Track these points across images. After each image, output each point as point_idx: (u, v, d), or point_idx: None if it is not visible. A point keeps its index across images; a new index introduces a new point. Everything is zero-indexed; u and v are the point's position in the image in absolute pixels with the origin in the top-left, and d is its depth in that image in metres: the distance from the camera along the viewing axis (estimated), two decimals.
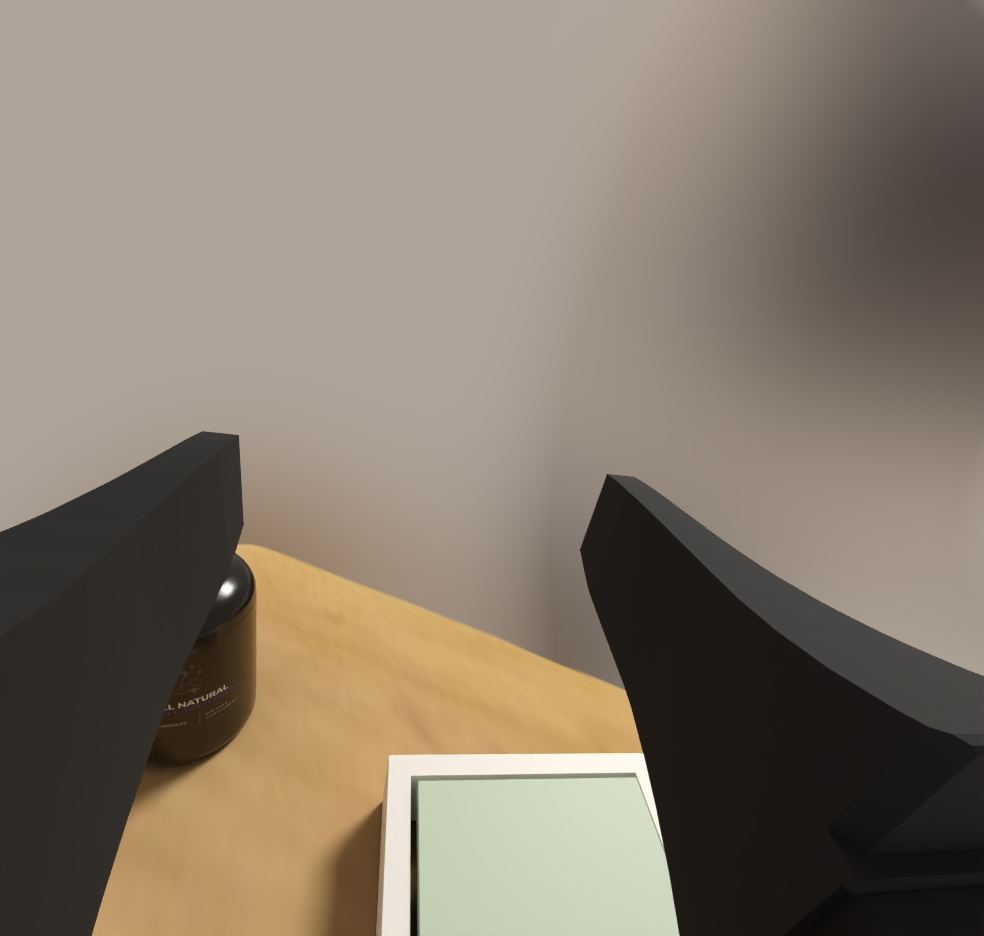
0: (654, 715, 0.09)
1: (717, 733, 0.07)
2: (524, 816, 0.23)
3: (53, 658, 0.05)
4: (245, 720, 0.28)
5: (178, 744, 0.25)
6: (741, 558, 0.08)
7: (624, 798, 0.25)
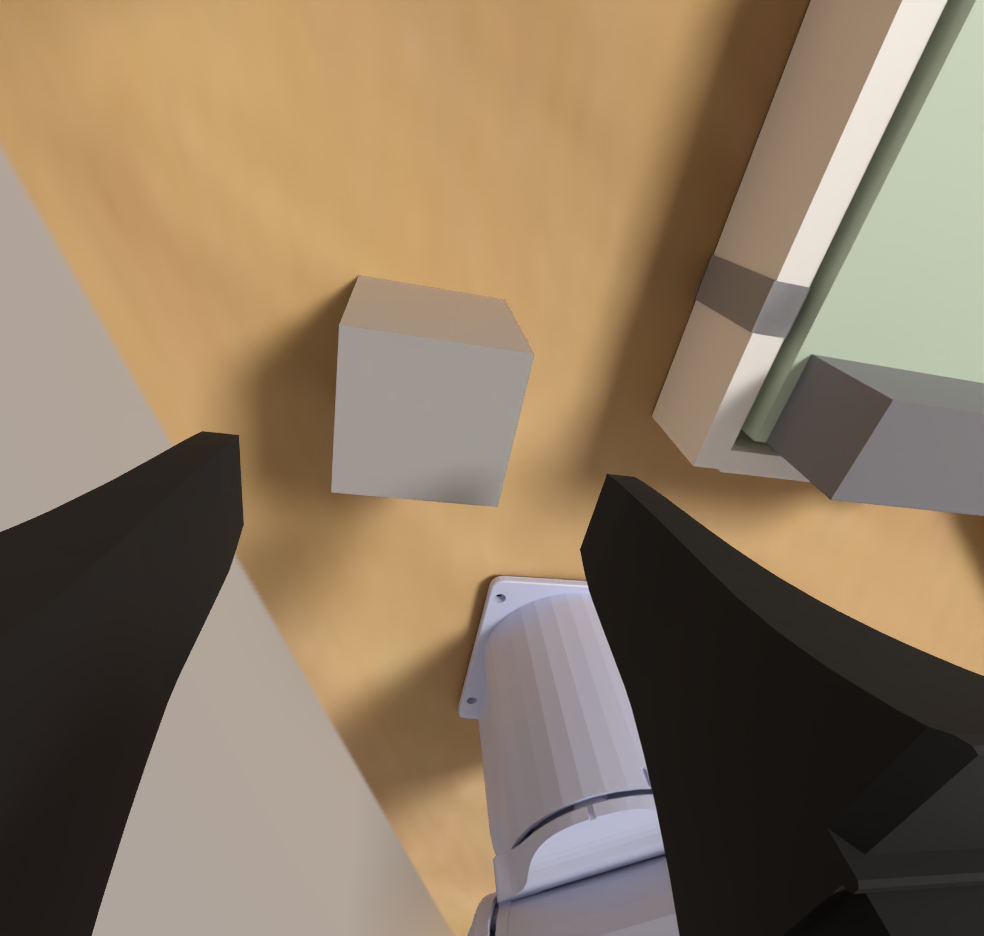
0: (654, 715, 0.09)
1: (717, 733, 0.07)
2: None
3: (53, 658, 0.05)
4: None
5: None
6: (741, 558, 0.08)
7: None
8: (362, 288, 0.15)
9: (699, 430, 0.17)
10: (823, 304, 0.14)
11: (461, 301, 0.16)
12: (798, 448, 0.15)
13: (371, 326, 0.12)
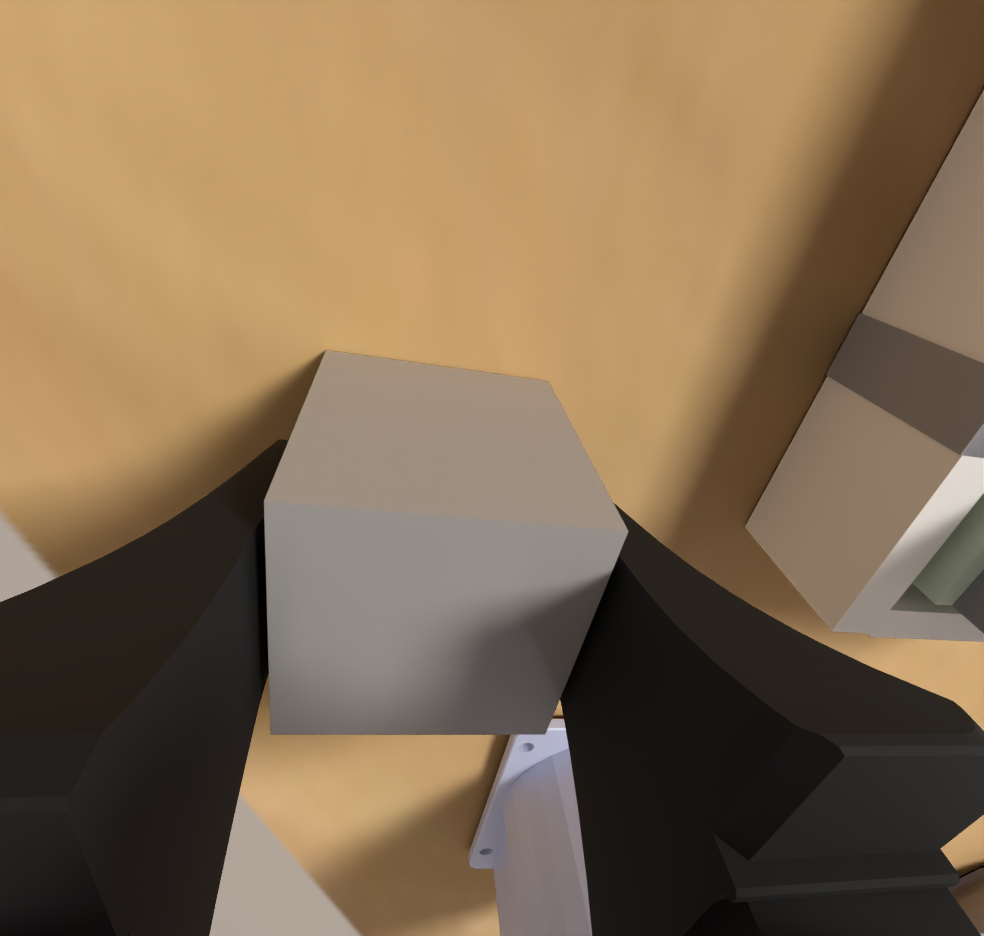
0: (579, 714, 0.08)
1: (627, 733, 0.07)
2: None
3: (205, 662, 0.05)
4: None
5: None
6: (664, 552, 0.08)
7: None
8: (326, 383, 0.09)
9: (843, 580, 0.11)
10: None
11: (486, 395, 0.10)
12: None
13: (330, 494, 0.06)
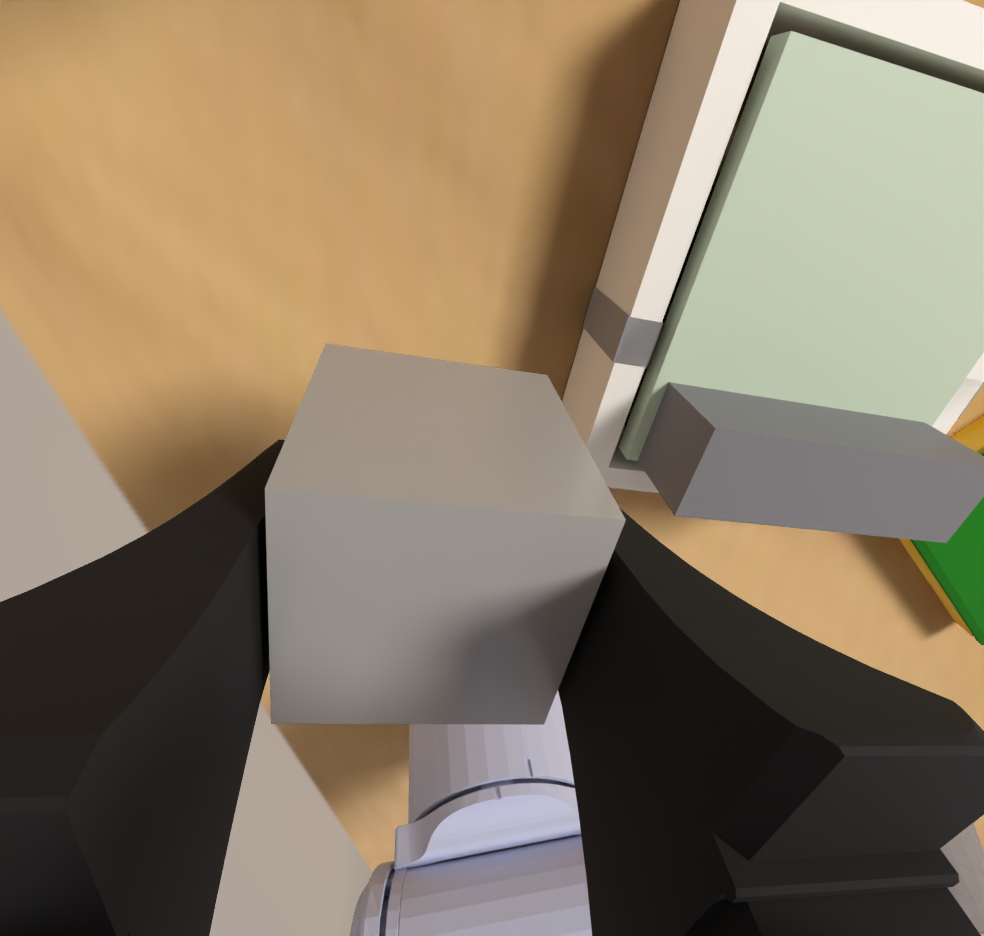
0: (579, 714, 0.08)
1: (627, 733, 0.07)
2: (912, 161, 0.14)
3: (205, 662, 0.05)
4: None
5: None
6: (664, 552, 0.08)
7: None
8: (326, 375, 0.09)
9: None
10: (672, 338, 0.15)
11: (484, 388, 0.10)
12: (657, 467, 0.16)
13: (329, 483, 0.06)
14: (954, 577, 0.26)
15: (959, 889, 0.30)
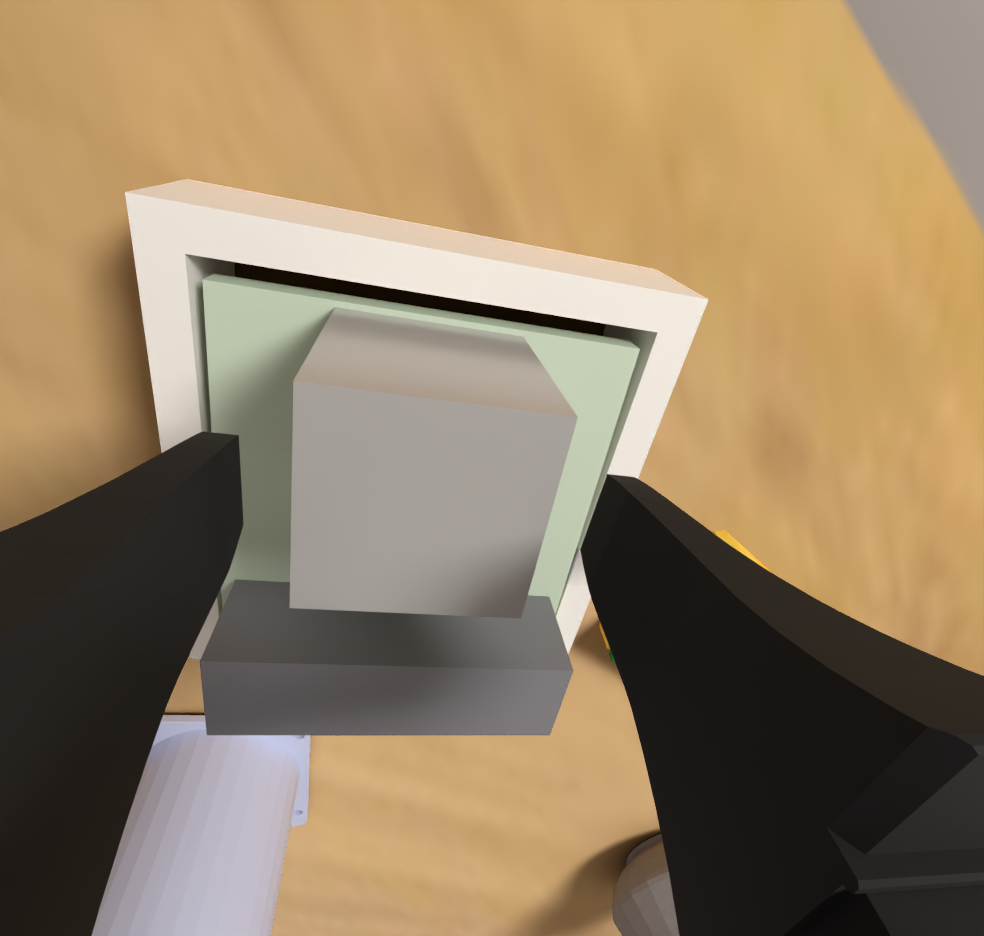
0: (654, 715, 0.09)
1: (717, 733, 0.07)
2: None
3: (53, 658, 0.05)
4: None
5: None
6: (741, 558, 0.08)
7: (594, 379, 0.14)
8: (337, 325, 0.11)
9: None
10: None
11: (469, 340, 0.12)
12: None
13: (343, 381, 0.08)
14: None
15: None
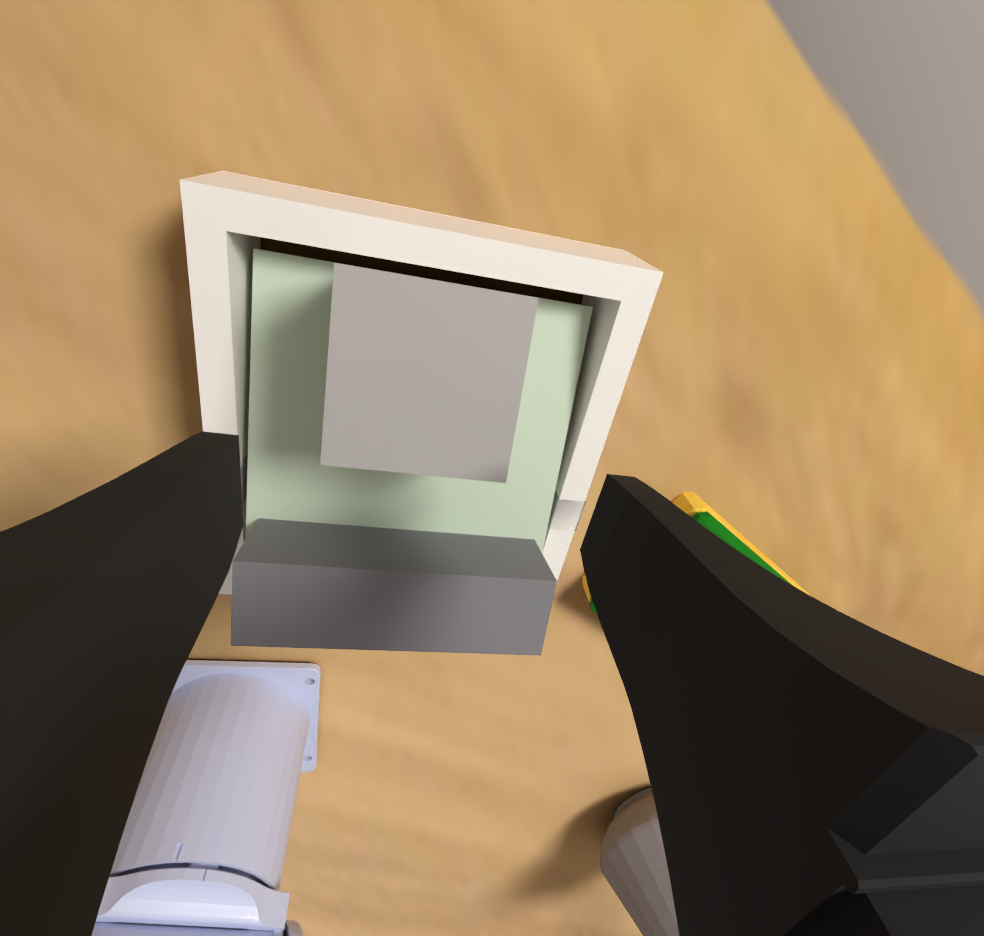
0: (654, 715, 0.09)
1: (717, 733, 0.07)
2: None
3: (53, 658, 0.05)
4: None
5: None
6: (741, 558, 0.08)
7: (558, 332, 0.18)
8: None
9: None
10: (247, 480, 0.17)
11: None
12: None
13: None
14: None
15: None
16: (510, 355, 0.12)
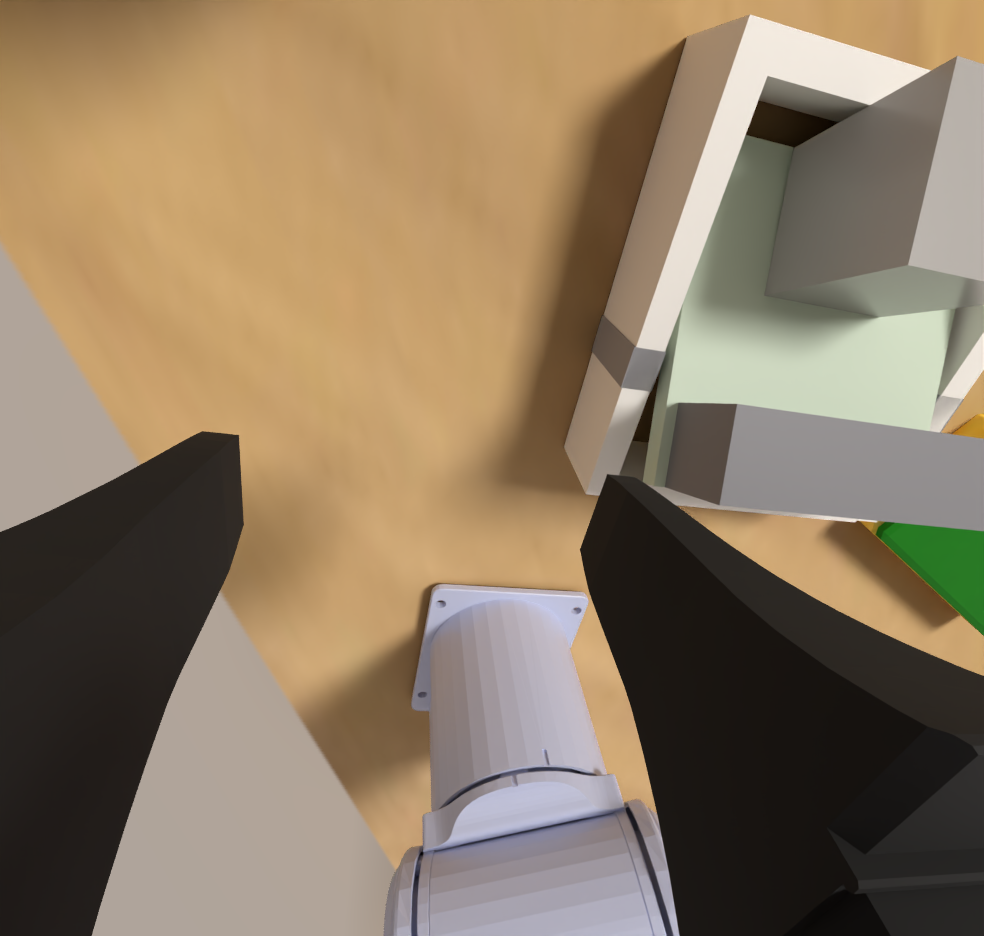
0: (654, 715, 0.09)
1: (717, 733, 0.07)
2: None
3: (53, 658, 0.05)
4: None
5: None
6: (741, 558, 0.08)
7: None
8: None
9: (590, 465, 0.20)
10: (673, 360, 0.17)
11: None
12: (687, 477, 0.16)
13: (971, 69, 0.12)
14: (944, 581, 0.28)
15: None
16: None
